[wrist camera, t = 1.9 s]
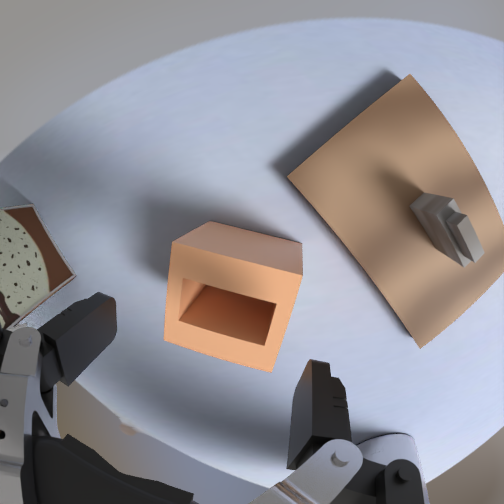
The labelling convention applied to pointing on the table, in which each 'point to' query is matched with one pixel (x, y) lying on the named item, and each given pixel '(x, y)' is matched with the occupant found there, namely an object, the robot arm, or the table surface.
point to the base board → (409, 208)
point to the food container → (27, 264)
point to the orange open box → (232, 293)
